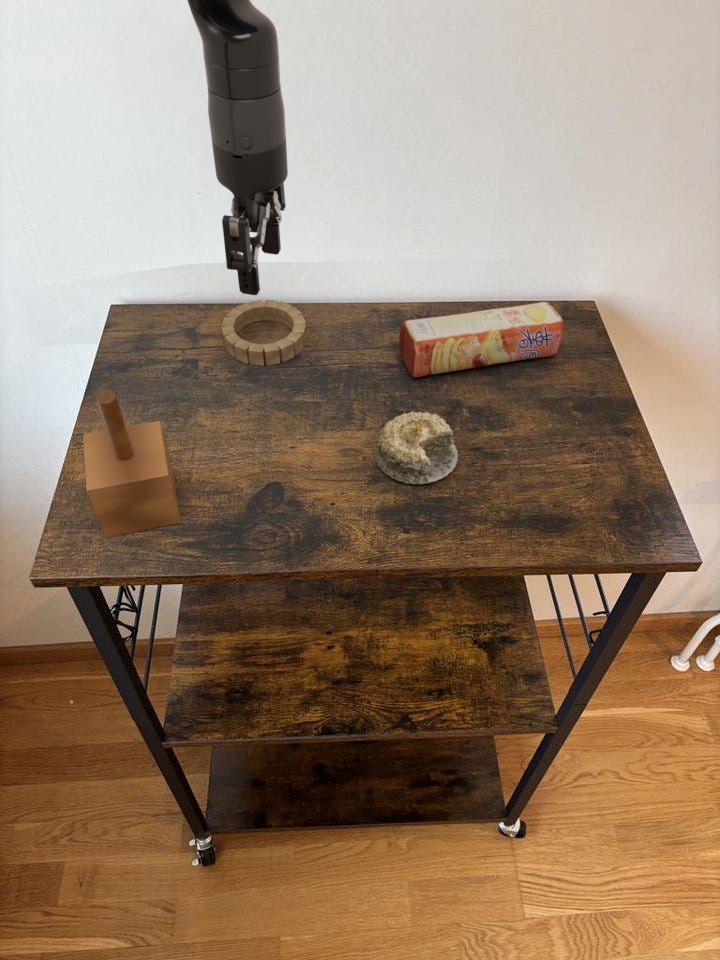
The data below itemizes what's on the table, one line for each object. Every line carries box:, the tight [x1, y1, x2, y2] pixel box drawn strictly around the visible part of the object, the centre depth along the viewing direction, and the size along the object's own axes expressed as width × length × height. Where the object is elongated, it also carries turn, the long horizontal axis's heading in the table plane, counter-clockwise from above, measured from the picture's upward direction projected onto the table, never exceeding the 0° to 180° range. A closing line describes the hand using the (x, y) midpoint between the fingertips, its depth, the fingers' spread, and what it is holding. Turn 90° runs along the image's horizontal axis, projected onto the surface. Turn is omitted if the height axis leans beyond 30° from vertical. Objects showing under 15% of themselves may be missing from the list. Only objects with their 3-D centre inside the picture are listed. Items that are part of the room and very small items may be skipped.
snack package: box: [398, 301, 565, 379], centre depth 96 cm, size 21×7×7 cm, turn 105°
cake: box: [373, 411, 459, 485], centre depth 85 cm, size 10×10×5 cm
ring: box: [221, 299, 307, 367], centre depth 100 cm, size 11×11×2 cm
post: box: [82, 390, 182, 539], centre depth 75 cm, size 8×8×16 cm
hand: (261, 272), depth 86 cm, fingers open, 8 cm apart
